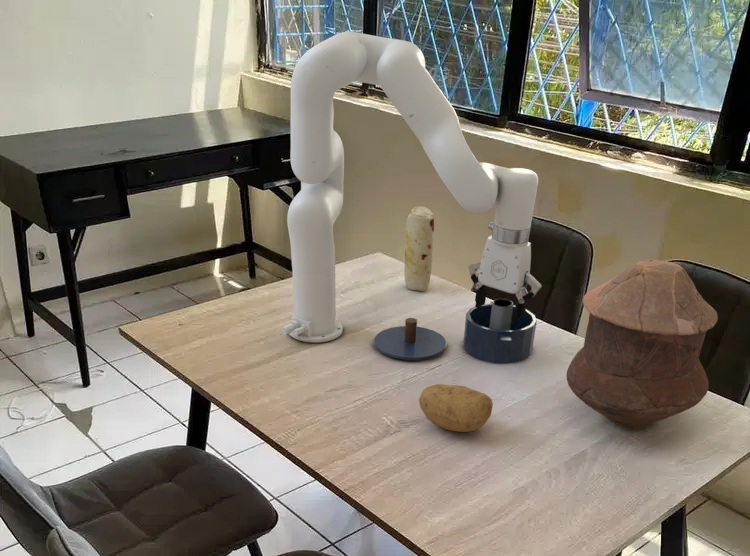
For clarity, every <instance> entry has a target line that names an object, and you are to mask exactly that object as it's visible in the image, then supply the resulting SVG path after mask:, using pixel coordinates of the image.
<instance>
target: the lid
mask: <svg viewBox="0 0 750 556" xmlns="http://www.w3.org/2000/svg"><path fill="white" fill-rule="evenodd" d="M373 345H374V347H375V349H376V350H377V351H378V352H380V354H381V353H382V354H383V355H385V356H387V357H391V358H394V359H397V360H398V359H399V360H407V361H419V360H420V361H421V360H427V359H431V358H434V357H437V356H439V355H441V354H442V353H444V351H445V350H446V348H447V340H446V338H445V337H444V336H443V335H442V334H441V333H440V332H438V331H435V330H433V329H430V328H427V327H423V326H418V319H416V318H413V317H408V318H406V319H405V321H404V325H400V326H393V327H389V328H386V329H383V330H381V331H379V332H378V333H377V334H376V335H375V336H374V339H373Z"/></svg>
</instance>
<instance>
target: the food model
mask: <svg viewBox="0 0 750 556" xmlns="http://www.w3.org/2000/svg"><path fill="white" fill-rule="evenodd" d="M434 240H435V216H434V213H433V212H432V210H430V208H427V207H426V206H423V205H422V206H420V205H419V206H415V207H413V208H412V209H411V211H410V213H408V216H407V218H406V224H405V241H404V242H405V243H404V244H405V245H404V282H405V286H406V287H407V288H408V290H412V291H420V292H424V291H426V290H428V289H429V286H430V281H431V276H432V269H433V259H434V242H435V241H434Z"/></svg>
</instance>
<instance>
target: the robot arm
mask: <svg viewBox="0 0 750 556" xmlns="http://www.w3.org/2000/svg"><path fill="white" fill-rule="evenodd" d="M291 75H292V76H291V81H290V122H289V123H290V124H289V125H290V127H289V128H290V152H289V153H290V156H289V157H290V165H291V169H292V172H293V174H294V176H295V177H296V179H298V180H299V181H300V190H299V192H298V193H297V194H296V195H295V196H294V197H293V199H292V201H291V202H290V204H289V208H288V210H287V217H286V224H287V230H288V236H289V243H290V255H291V256H290V257H291V258H290V259H291V268H292V269H291V271H292V272H291V274H292V295H293V297H292V298H293V315H291V321H290V322H289V323H288V324H286V325H284V326H282V327H280V333H281V335H282V336H287V335H289V336H290V337H292V338H293V339H295V340H297V341H299V342H304V343H325V342H330V341H333V340H335V339H338V338H339V337H340V336H341V335H342V334H343V325H342V323H341V322H340V321H339V320H337V305H336V304H337V303H336V302H337V300H336V297H337V296H336V295H337V293H336V248H335V239H334V224H335V222H336V221H337V219H338V218H339V216H340V214H341V211H342V209H343V205H344V180H345V179H344V178H345V150H344V145H343V140H342V139H341V137H340V135H339V133H337V131H336V130H334V121H335V119H334V117H335V110H334V109H335V108H334V95H335V94H336V93H337V91H338V90H340V89H342V88H345V87H348V86H349V85H351V84H352V83H354V82H357V83H364V84H369V85H374V86H380V88H381V89H382V91H383V92H384V94H385V96H386V97H387V98H388V100H389V101H390V102H391V104H392V105H393V107H394V108H395V109H396V110H397V112H398V113H399V114H400V116H401V117H402V118H403V120H404V122H406V124H407V126H408V127H409V128H410V130H411V131H412V133H413V134H414V135H415V137H416V138H417V140H418V141H419V143H420V145H421V147H422V149H423V151H424V153H425V154H426V156H427V158H428V159H429V161H430V162H431V164H432V166H433V168H434V169H435V171H436V173H437V175H438V176H439V178H440V179H441V181H442V182H443V184H444V185H445V186H446V188H447V189H448V191H449V192H450V193H451V195H452V197H454V199H455V201H456V202H457V203H458V204H459V205H460V207H461V208H463V209H464V210H465V211H467V212H469V213H471V214H477V215H478V214H483V213H486V212H487V211H489V210H490V209H491V208H492V207H493V206H494V204H496V205H495V212H494V221H493V222H492V221H490V222H488V225H487V228H488V229H489V230H491V235H489V236H488V237H487V239H486V242H485V245H484V248H483V251H482V255H481V259H480V261H478V262H473V263H472V264H469V265H468V271H469V274H470V279H471V281H472V283H473V285H474V289H475V298H474V301H475V305H474V307H477V308H478V307H480V306H482V305H484V304H486V301H487V293H488V287H489V288H492V289H495V290H498V291H500V292H504V293H508V294H512V295H515V296H516V299H517V301H516V303H515V305H514V306H515V312H514V318H513V319H514V320H516V321H517V320H518V319H520V318H522V317H523V316H524V314H525V310H527V304H528V301H529V300H531V299H533V298H534V297H535V296H537V294H538V293H539V292H540V290H541V289H542V287H543V286H542V284H541V283H540V282H539V281H538V280H537V279H536V278H535V277H534V276H533V275H532V274H531V273H530V272H531V264H532V263H531V261H532V245H531V244H532V243H531V242H529V239H530V232H531V229H532V228H531V227H532V221H533V215H534V210H535V203H536V197H537V191H538V185H539V177H538V176H539V175H538V174H537V173H536V172H535V171H533V170H531V169H528V168H523V167H509V168H508V167H506V166H505V167H504V166H500V165H496V164H493V163H489V162H481V161H478V160H477V158H476V156H475V155H474V153H473V151H472V149H471V148H470V146H469V145H468V142H467V141H466V139H465V136H464V134H463V131H462V128H461V124H460V120H459V117H458V115H457V113H456V110H455V109H454V107H453V105H452V104H451V103H450V101H449V100H448V99H447V97H446V95H445V94H444V93H443V91H442V90H441V88H440V87H439V86H438V84H437V83H436V82H435V80H434V79H433V77H432V76H431V74H430V72H429V71H428V69H427V68H426V59H425V56H424V53H423V52H422V49H420V48H419V46H418V45H416V44H415V43H413V42H411V41H408V40H404V39H403V40H402V39H397V38H390V37H384V36H378V35H372V34H367V33H361V32H355V31H342V32H338V33H337V34H335V35H333V36H330V37H328V38H326V39H325V40H323V41H321V42H319V43H317V44H316V45H314V46H313V47H310V48H309V49H308V50H307V51H305V53H304V54H303V55H302V56H301V57H300V58H299V60H298V62H296V65H295V67H294V69H293V72H292V74H291ZM528 285H529V286H530V288H531V289H530V291H528V290H527V287H528Z"/></svg>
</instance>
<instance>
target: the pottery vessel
mask: <svg viewBox="0 0 750 556" xmlns="http://www.w3.org/2000/svg"><path fill="white" fill-rule="evenodd" d="M582 304H583V307H584V308H585V309H586V310H587V312H588V313H589V315H588V316H589V317H588V323H587V327H586V332H585V338H584V341H583V346H582V347H581V348H580V349H579V351H577V353H576V354H575V355H574V357H573V358H572V360H571V362H570V363H569V365H568V367H567V371H566V382H567V385H568V387H569V388H570V390H571V392H572V393H573V394H574V395H575V396H576V397H577V398H578V399H579V400H580V401H582V402H583V403H584V404H585V405H586V406H587V407H589V408H590V409H592V410H593V411H595V412H597V413H599V414H600V415H602V416H604V417H605V418H607V419H608V420H609V421H610V422H612V424H615V425H616V426H619V427H620V428H625V429H628V430H633V431H641V430H645V429H648V428H650V427H651V426H652V425H653V424H655V423H658V422H660V421H664V420H666V419H668V418H671V417H674V416H676V415H678V414H681V413H683V412H685V411H687V410H690V409H692V408H694V407H695V406H696V405H698V404H699V403H700V402H701V401H702V400H703V399H704V398H705V397H706V395H707V393H708V392H709V386H710V384H709V380H708V375H707V373H706V371H705V368H704V367H703V365H702V363H701V361H700V355H701V350H702V348H703V344H704V341H705V337H706V334H707V331H709V330H710V329H711V330H712V329H713V328H714V326H715V325H716V324H717V323H718V319H719V316H718V312H717V310H715V309H714V307H712V305H710V304H709V303H708V302H707V301H706V300H705V299H704V298H703V296H702V295H701V294H700V293H699V291H698V289H697V288H696V285H695V283H694V282H693V280H692V279H691V277H690V276H689V274H688V273H687V271H686V270H685V268H683V266H681V265H680V264H678V263H675V262H673V261H667V260H660V259H659V260H658V259H656V260H655V259H645V260H641V261H637V262H635V263H633V264H632V265H631V266H629V267H628V268H626V269H624V270H623V271H621V272H620V273H618V274H617V275H615V276H614V277H612V278H611V279H609V280H608V281H606V282H604V283H602V284H600V285H598V286H596V287H594V288H592V289H591V290H589V291H588V292H586V293H585V294H584V295H583V298H582Z"/></svg>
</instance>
